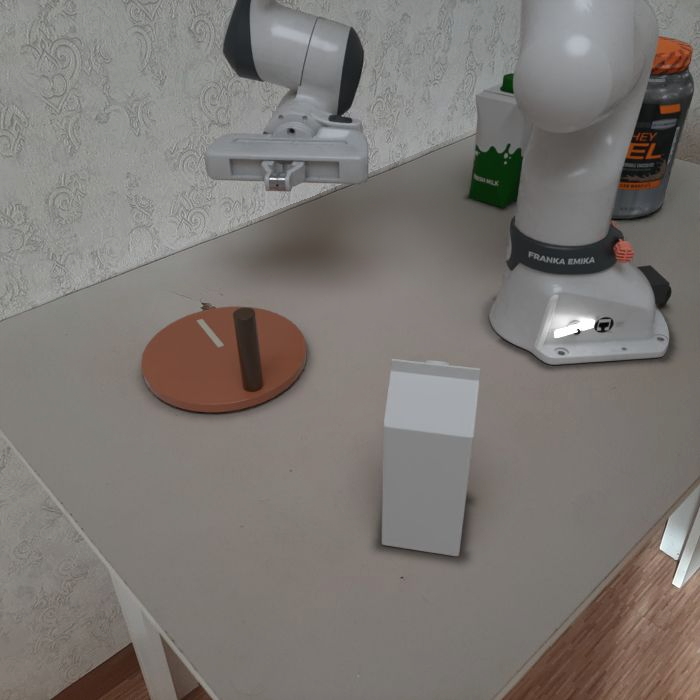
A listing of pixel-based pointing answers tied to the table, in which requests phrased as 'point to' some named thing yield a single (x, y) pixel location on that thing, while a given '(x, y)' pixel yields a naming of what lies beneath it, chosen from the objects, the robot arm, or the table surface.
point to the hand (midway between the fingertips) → (277, 185)
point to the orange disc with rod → (224, 359)
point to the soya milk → (499, 145)
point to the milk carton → (427, 454)
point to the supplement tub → (656, 131)
